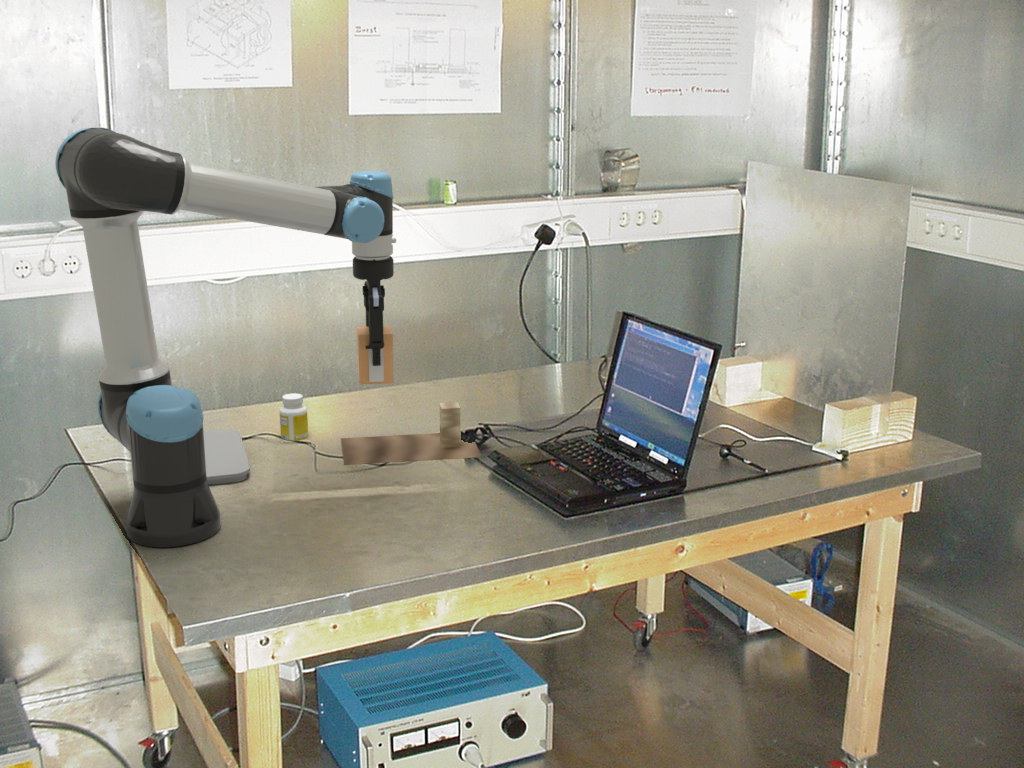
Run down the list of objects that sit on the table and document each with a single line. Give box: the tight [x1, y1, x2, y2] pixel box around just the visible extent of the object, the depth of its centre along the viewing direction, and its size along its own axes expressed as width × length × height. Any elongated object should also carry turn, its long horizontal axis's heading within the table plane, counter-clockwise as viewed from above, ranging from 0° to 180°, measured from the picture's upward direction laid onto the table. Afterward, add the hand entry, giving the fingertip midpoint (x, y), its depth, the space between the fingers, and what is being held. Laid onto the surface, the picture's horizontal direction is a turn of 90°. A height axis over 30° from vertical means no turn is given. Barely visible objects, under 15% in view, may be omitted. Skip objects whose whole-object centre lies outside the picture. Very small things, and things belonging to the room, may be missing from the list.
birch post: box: [439, 401, 462, 448], centre depth 240 cm, size 4×4×8 cm
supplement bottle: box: [279, 392, 309, 441], centre depth 244 cm, size 5×5×10 cm
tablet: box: [203, 428, 251, 486], centre depth 235 cm, size 16×26×2 cm, turn 17°
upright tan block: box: [356, 325, 395, 385], centre depth 233 cm, size 6×6×10 cm
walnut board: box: [340, 432, 482, 466], centre depth 239 cm, size 26×15×2 cm, turn 100°
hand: (375, 375), depth 234 cm, fingers closed on upright tan block, 6 cm apart
